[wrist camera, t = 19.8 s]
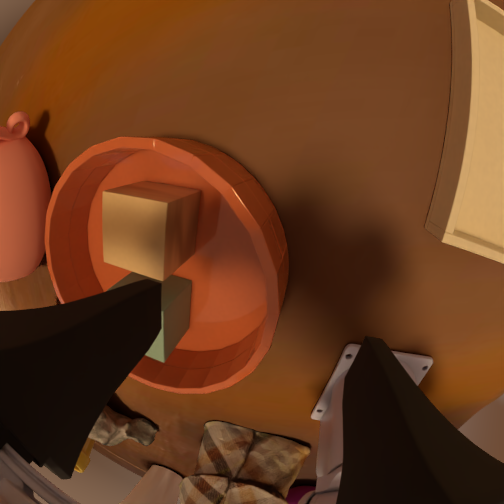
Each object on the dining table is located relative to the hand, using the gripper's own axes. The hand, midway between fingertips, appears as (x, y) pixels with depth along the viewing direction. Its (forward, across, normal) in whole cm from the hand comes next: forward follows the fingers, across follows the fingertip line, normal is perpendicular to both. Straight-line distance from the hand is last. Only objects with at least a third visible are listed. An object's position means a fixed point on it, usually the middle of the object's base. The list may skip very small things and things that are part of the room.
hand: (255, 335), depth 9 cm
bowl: (+9, +8, +3) cm, 13 cm away
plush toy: (+10, -1, +25) cm, 27 cm away
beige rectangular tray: (+9, -15, -12) cm, 21 cm away
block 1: (+9, +8, 0) cm, 12 cm away
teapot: (+10, +28, +2) cm, 30 cm away
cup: (+10, +10, +46) cm, 48 cm away
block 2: (+9, +8, +6) cm, 13 cm away
